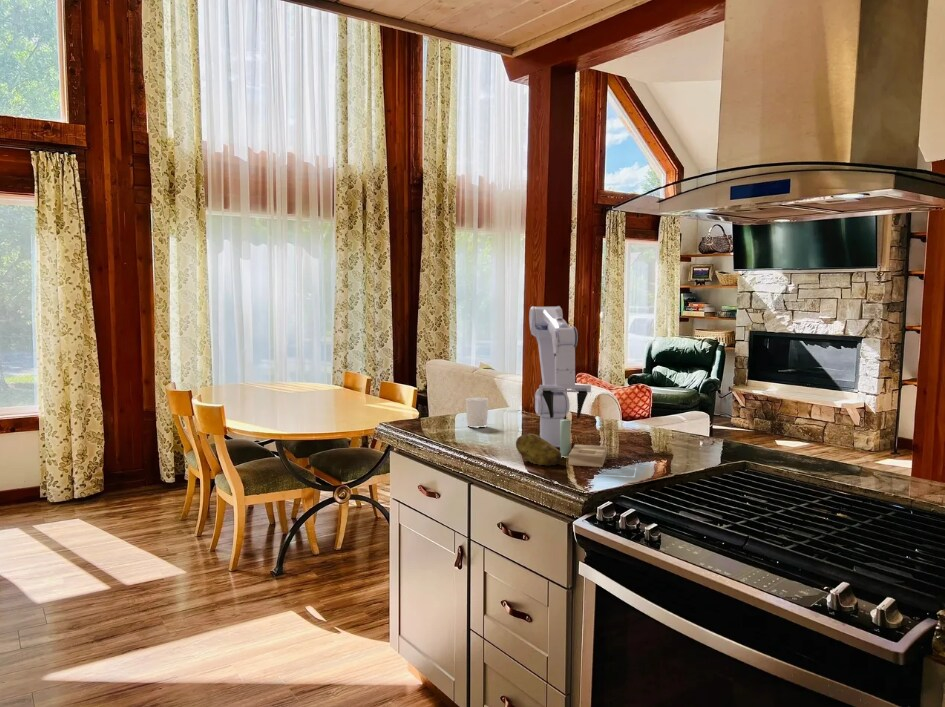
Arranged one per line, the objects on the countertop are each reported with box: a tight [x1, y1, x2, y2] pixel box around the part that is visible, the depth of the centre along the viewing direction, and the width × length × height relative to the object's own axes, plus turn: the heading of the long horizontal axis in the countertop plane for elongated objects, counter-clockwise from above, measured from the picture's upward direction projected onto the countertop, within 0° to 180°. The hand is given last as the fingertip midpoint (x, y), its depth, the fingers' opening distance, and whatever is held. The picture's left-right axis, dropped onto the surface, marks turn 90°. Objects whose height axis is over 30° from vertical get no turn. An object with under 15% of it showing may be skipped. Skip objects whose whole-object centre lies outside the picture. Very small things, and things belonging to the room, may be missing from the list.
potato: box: [515, 432, 562, 467], centre depth 194 cm, size 8×13×8 cm, turn 37°
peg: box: [559, 418, 572, 456], centre depth 204 cm, size 3×3×10 cm
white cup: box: [465, 396, 489, 427], centre depth 250 cm, size 8×8×10 cm
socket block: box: [568, 444, 607, 468], centre depth 198 cm, size 14×9×3 cm, turn 165°
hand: (565, 417), depth 202 cm, fingers open, 7 cm apart
